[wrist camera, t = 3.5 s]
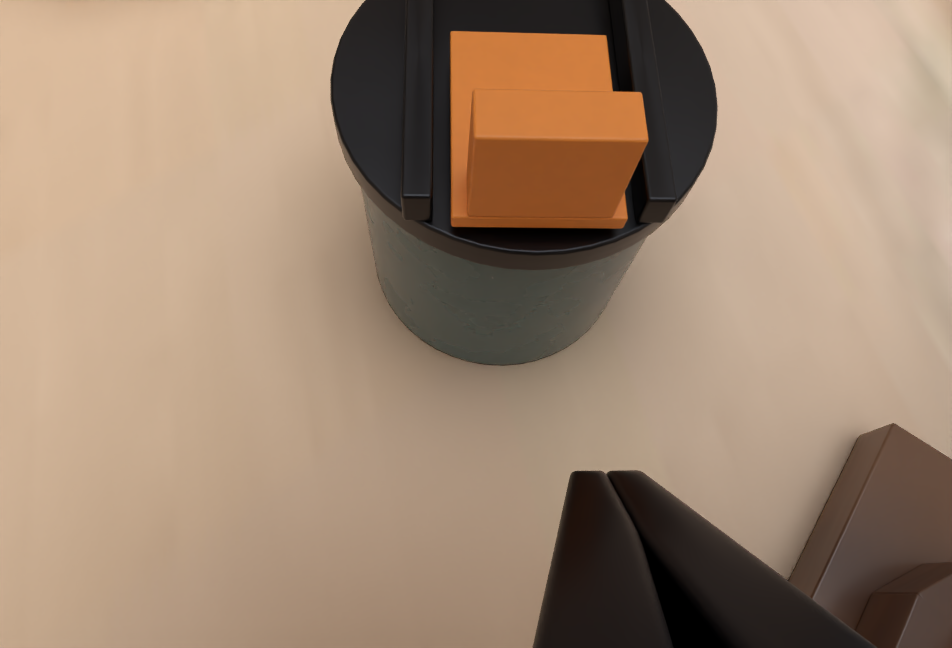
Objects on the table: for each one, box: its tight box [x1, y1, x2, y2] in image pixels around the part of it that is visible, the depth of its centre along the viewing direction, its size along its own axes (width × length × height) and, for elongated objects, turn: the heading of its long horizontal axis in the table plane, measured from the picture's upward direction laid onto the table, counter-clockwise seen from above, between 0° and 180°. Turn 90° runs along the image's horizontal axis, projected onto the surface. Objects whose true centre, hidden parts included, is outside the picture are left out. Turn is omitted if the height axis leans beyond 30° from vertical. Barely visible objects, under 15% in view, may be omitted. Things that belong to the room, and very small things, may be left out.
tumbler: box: [331, 0, 717, 365], centre depth 18 cm, size 9×9×9 cm
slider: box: [450, 31, 649, 229], centre depth 13 cm, size 5×3×3 cm
